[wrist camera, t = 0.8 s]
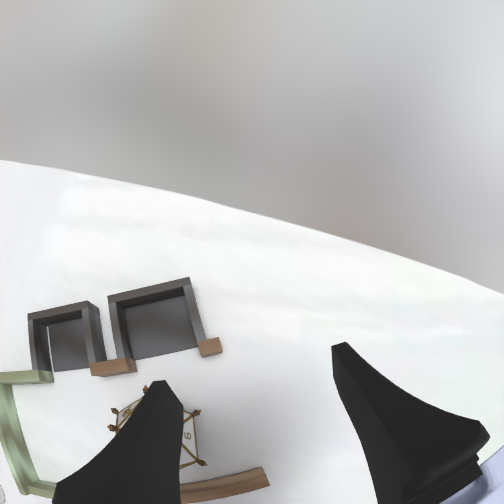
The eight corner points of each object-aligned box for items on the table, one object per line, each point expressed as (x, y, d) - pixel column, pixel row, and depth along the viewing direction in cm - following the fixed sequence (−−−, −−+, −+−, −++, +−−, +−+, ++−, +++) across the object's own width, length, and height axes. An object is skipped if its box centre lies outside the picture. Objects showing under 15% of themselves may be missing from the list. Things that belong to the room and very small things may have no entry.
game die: (180, 438, 24) (178, 511, 14) (109, 406, 22) (85, 478, 12) (220, 391, 23) (231, 475, 13) (138, 351, 21) (109, 432, 11)
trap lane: (265, 475, 20) (272, 489, 16) (37, 487, 13) (20, 493, 10) (203, 284, 29) (200, 269, 25) (1, 328, 22) (-18, 320, 18)
